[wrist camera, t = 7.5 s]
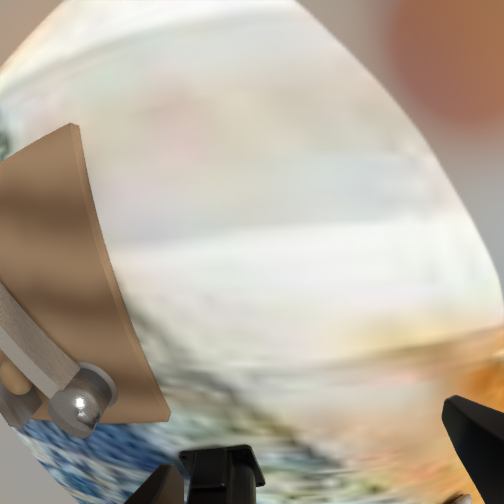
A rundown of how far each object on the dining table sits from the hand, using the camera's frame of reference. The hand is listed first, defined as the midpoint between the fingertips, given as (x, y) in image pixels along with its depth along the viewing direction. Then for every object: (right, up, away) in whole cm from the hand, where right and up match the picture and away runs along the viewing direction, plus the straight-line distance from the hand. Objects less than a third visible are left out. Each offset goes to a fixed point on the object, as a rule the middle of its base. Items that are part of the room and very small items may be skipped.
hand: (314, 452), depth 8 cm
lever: (-19, 0, +10) cm, 22 cm away
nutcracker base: (-19, +2, +12) cm, 22 cm away
